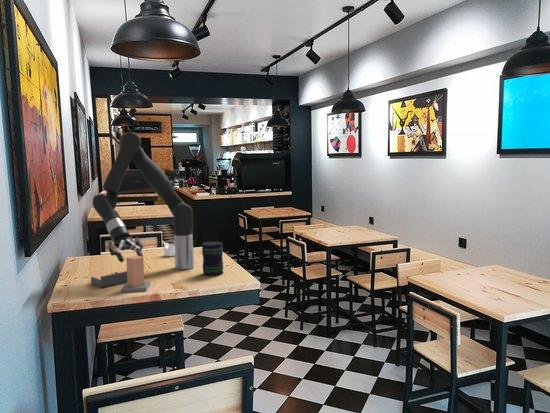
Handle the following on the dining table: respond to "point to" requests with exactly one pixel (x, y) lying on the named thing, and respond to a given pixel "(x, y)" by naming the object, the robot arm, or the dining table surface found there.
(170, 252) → the bracket
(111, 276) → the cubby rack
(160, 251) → the dining table surface
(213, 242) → the storage jar
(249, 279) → the dining table surface
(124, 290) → the slate pad
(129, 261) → the terracotta block
